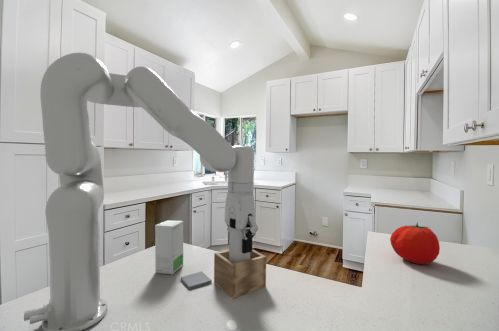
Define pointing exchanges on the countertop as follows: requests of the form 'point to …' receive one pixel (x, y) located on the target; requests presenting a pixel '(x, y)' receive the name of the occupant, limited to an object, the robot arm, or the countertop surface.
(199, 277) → the slate coaster
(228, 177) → the robot arm
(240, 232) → the travel mug
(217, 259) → the open wooden box
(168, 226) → the skincare box
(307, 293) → the countertop surface
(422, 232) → the tomato
